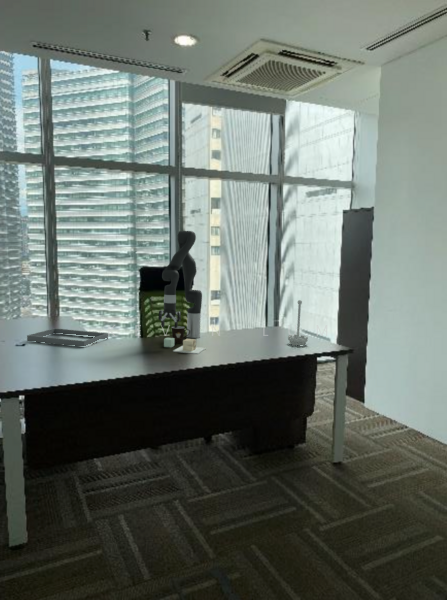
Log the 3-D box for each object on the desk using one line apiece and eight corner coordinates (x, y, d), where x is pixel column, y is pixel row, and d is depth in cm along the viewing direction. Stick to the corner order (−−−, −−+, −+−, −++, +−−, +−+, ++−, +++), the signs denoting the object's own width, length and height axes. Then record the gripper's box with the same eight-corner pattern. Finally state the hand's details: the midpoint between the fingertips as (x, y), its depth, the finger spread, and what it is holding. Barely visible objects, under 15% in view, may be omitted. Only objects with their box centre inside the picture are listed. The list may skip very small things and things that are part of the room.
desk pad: (182, 346, 283) (182, 345, 283) (205, 349, 279) (205, 348, 279) (173, 351, 270) (173, 350, 270) (198, 354, 266) (198, 353, 265)
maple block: (186, 348, 277) (186, 338, 276) (195, 349, 275) (195, 339, 275) (182, 350, 271) (183, 340, 271) (192, 351, 270) (192, 341, 269)
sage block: (167, 345, 287) (167, 337, 286) (174, 345, 286) (174, 338, 285) (163, 346, 282) (164, 339, 282) (171, 347, 281) (171, 339, 280)
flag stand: (305, 347, 293) (308, 301, 289) (286, 345, 297) (288, 300, 293) (308, 343, 305) (311, 299, 301) (289, 341, 309) (291, 298, 306)
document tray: (54, 333, 310) (54, 328, 310) (108, 339, 298) (108, 333, 298) (27, 341, 284) (27, 335, 284) (84, 347, 272) (84, 341, 272)
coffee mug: (169, 342, 293) (169, 327, 292) (174, 340, 301) (174, 325, 300) (185, 344, 290) (185, 329, 289) (190, 341, 298) (190, 327, 297)
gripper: (182, 302, 282) (182, 327, 284) (162, 300, 286) (161, 325, 288) (178, 303, 275) (177, 329, 277) (157, 301, 279) (156, 327, 281)
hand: (169, 327), depth 282 cm, fingers open, 8 cm apart
